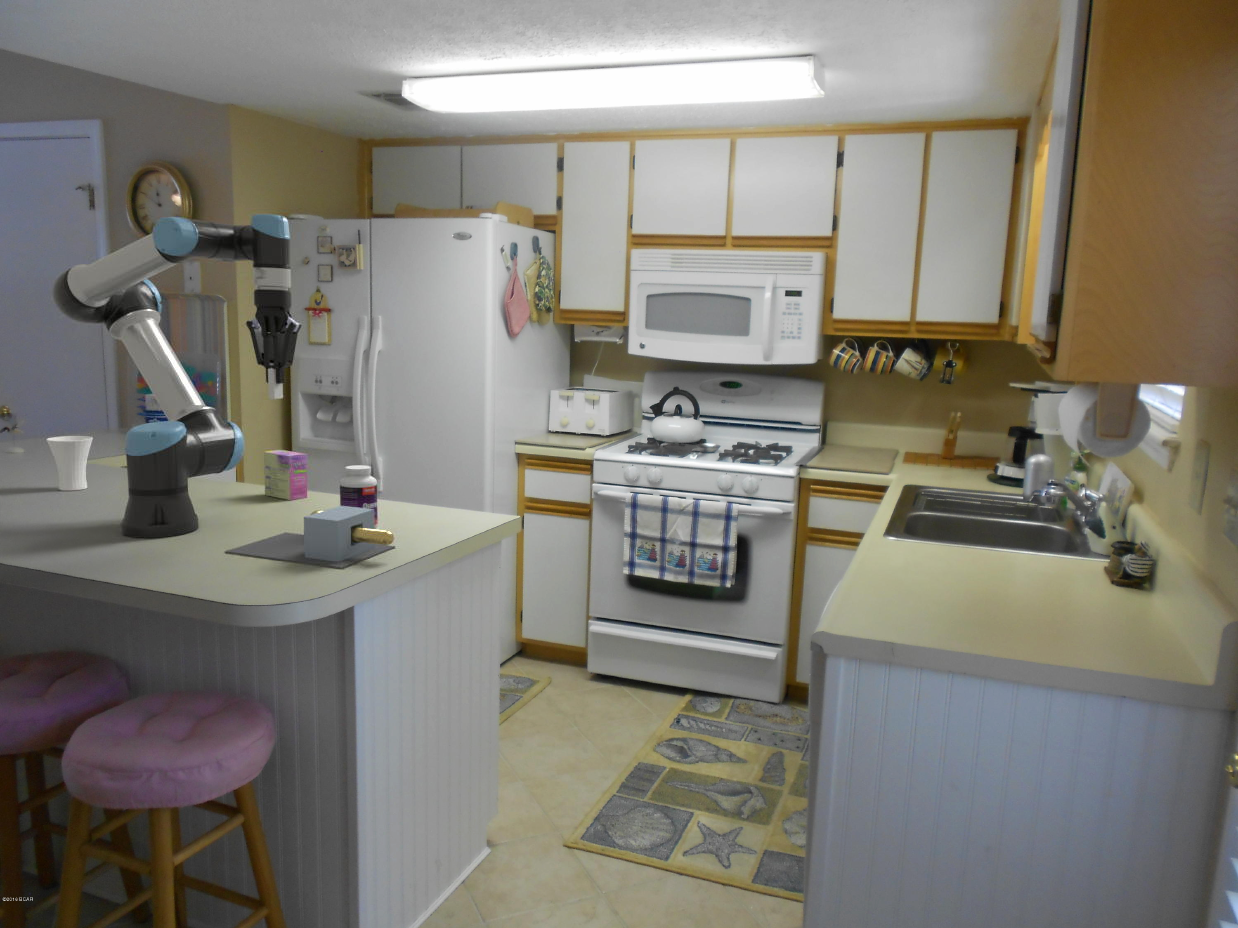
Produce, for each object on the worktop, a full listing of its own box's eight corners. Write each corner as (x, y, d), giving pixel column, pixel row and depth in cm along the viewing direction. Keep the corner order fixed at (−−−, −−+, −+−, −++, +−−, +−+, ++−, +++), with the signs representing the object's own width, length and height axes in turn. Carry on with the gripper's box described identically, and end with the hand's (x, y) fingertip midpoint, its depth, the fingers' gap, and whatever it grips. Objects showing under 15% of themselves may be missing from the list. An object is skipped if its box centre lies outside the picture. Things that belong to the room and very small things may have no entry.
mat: (225, 552, 180) (224, 551, 180) (285, 533, 197) (285, 532, 197) (342, 568, 171) (342, 567, 171) (395, 547, 188) (395, 546, 188)
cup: (80, 493, 233) (77, 441, 231) (40, 491, 233) (37, 440, 231) (104, 485, 244) (101, 436, 242) (66, 484, 244) (62, 435, 242)
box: (308, 497, 236) (307, 453, 234) (290, 500, 232) (288, 455, 230) (282, 492, 242) (281, 449, 240) (264, 495, 237) (263, 451, 235)
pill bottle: (367, 535, 198) (366, 471, 196) (333, 532, 199) (332, 468, 197) (384, 527, 206) (383, 465, 203) (351, 524, 207) (350, 463, 205)
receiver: (304, 558, 178) (303, 516, 176) (342, 545, 189) (341, 505, 188) (338, 563, 175) (337, 520, 174) (374, 549, 186) (374, 509, 185)
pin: (304, 552, 180) (303, 514, 179) (328, 543, 187) (328, 507, 186) (381, 562, 174) (381, 523, 173) (404, 553, 182) (403, 515, 180)
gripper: (235, 287, 191) (239, 398, 195) (285, 288, 187) (288, 401, 191) (260, 289, 198) (263, 395, 202) (309, 290, 194) (311, 398, 198)
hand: (275, 398), depth 197 cm, fingers closed
